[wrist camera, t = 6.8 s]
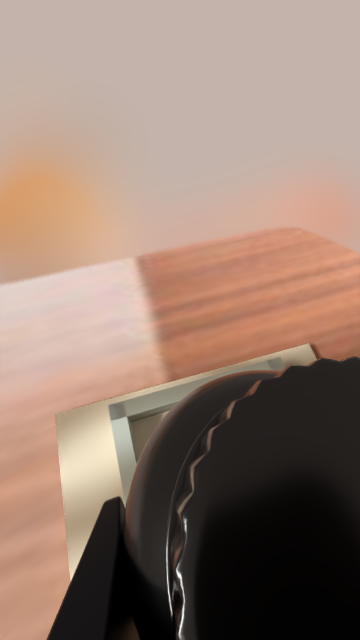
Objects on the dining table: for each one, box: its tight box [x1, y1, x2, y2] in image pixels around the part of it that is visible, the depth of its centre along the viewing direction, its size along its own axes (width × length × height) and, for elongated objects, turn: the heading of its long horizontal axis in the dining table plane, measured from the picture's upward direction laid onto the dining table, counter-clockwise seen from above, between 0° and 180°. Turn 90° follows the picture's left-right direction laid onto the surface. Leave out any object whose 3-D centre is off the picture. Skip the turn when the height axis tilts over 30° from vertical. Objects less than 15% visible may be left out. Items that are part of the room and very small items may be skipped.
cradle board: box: [55, 343, 317, 580], centre depth 18 cm, size 14×20×4 cm
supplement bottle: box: [123, 357, 360, 640], centre depth 8 cm, size 7×7×12 cm
